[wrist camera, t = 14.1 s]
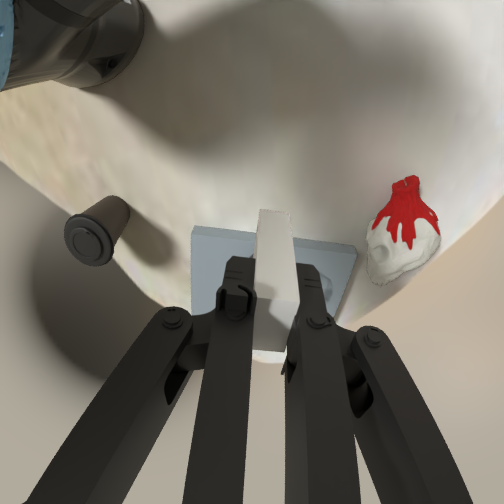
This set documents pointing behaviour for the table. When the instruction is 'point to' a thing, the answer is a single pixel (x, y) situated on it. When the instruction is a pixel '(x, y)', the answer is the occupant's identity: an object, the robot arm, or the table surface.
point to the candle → (401, 234)
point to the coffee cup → (97, 231)
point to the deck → (242, 244)
